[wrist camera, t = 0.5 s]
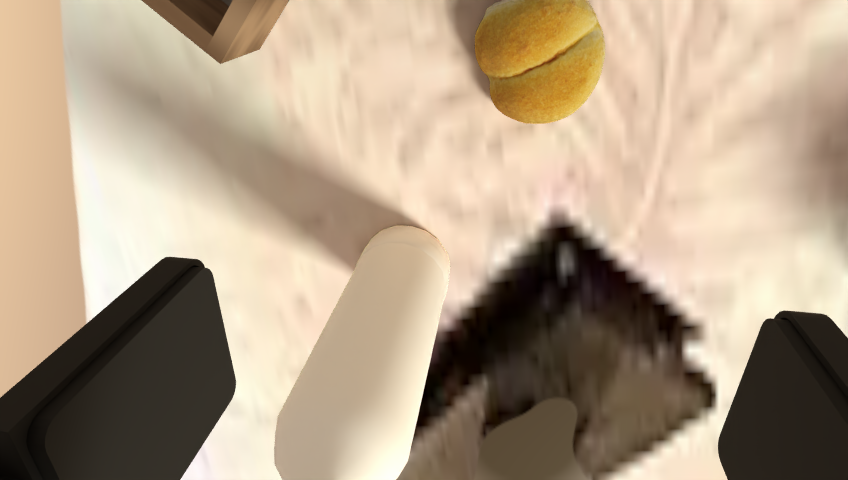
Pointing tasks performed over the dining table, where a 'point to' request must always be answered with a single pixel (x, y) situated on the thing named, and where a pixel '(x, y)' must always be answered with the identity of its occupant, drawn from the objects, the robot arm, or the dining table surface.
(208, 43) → the u rest
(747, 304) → the dining table surface
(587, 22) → the bread roll
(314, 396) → the bottle
